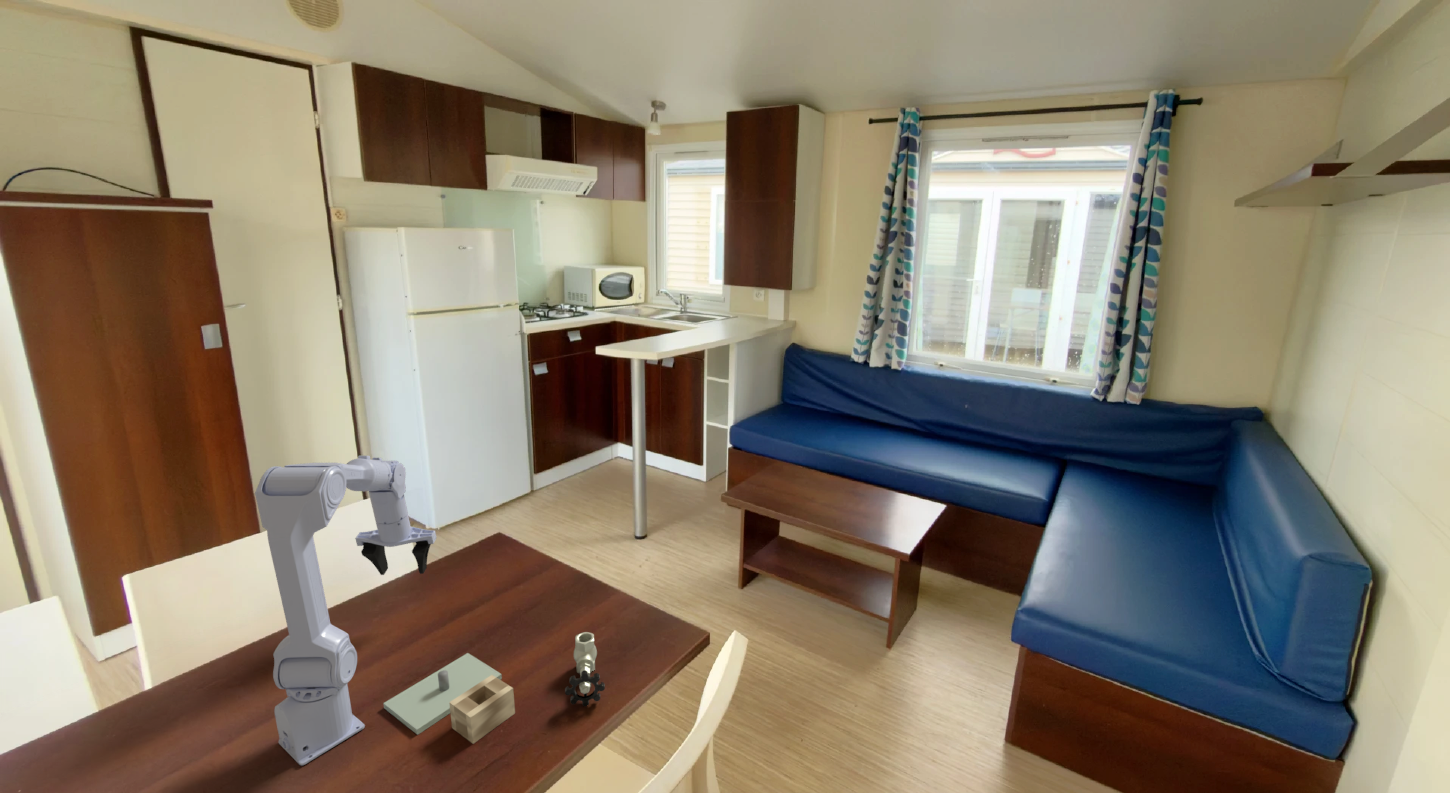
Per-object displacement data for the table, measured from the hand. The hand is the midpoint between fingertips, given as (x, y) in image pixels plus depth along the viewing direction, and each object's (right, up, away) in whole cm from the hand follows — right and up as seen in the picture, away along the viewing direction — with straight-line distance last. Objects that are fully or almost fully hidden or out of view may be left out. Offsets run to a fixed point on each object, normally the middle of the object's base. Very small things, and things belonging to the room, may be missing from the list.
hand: (403, 571), depth 128 cm
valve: (+41, -16, -15) cm, 46 cm away
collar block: (+26, -18, -24) cm, 40 cm away
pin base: (+17, -16, -19) cm, 30 cm away
